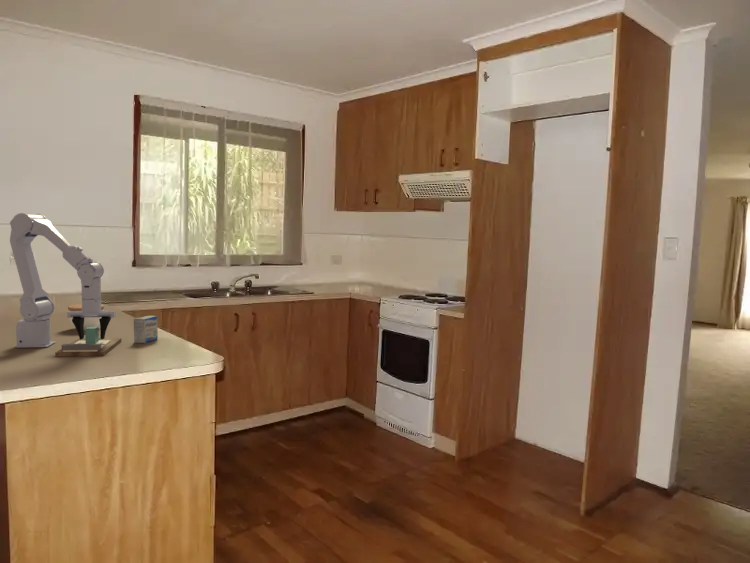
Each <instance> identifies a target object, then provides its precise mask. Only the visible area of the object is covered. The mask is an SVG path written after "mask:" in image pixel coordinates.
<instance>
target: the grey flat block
mask: <svg viewBox="0 0 750 563" xmlns="http://www.w3.org/2000/svg"><path fill="white" fill-rule="evenodd" d="M104 346H105V344H71V343H63V344H62V345H61V349H62V350H63V352H95V351H99V350H100V349H101V348H103V347H104Z"/></svg>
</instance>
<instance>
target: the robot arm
mask: <svg viewBox="0 0 750 563" xmlns="http://www.w3.org/2000/svg"><path fill="white" fill-rule="evenodd" d="M9 224H10V236H9V243H10V247H11V251H12V254H13V258H14V262H15V265H16V269H17V273H18V277H19V280H20V281H19V282H20V283H21V288H22V291H23V294H22V295H21V296H20V298H19V302H20V303H19V304H20V306H19V313H20V315H21V317H22V318H23V319H19V320H18V321H17V323H16V328H15V331H16V332H15V333H16V336H15V337H16V346H15V348H19V349H20V348H48V347H50V346H51V345H54V344H55V343H56V341H54V340H52V336H51V333H52V332H51V317H52V316H51V315H52V314H53V312H54V311H55V303H54V302H53V300H52V299H51V298H50V296H49V295H50V294H49V293H48V292H47V291H46V290H44V289H43V287H42V283H41V278H40V275H39V271H38V268H37V264H36V260H35V257H34V253H33V248H32V245H31V243H32V242H33V241H34V239H35V238H37V236H42V237H44V238H45V239H47V240H48V241H49V243H52V244H53V245H54V246H55V247H56V248H57V249H58V250H60V251H61V252H62V258H63V259H64V260H65V262H67V263H69V265H70V266H72V268H73V269H75V270H76V273H77V274H76V275H77V277H78V278H79V279H80V283H81V304H82V311H69V310H68V311H67V312H66V313H67V314H66V318H67V319H69V318H71V317H73V319H72V322H73V324H74V325H75V327H76V328H75V327H74V328H75V329H76V331H77V334H78V337H79V338H78V339H85V330H84V317H102V318H100V319H99V321H100V325H99V328H100V329H99V330H100V331H99V337H100V338H99V339H104V338H105V336H106V332H107V329H108V326H109V324H110V322H111V320H112V319H113V318H116V316H117V314H116V311H115V310H104V311H101V304H102V289H101V288H102V284H101V283H102V282H101V280H102V279H101V278H102V277H103V276H104V273H105V270H104V269H105V268H104V267H103V265H102V264H101V262H99V261H94V258H92V257H89V256H88V255H87V254H86V253H85V252H84V251H83V250H84V248H83V247H82V246H78V245H72V244H71V243H69V241H68V240H67V239H66V238H65V237H64V236H63V234H61V233H60V232H59V231H58V230H57V228H55V226H53V225H54V224H52V221H50V220H49V219H48V218H47V217H46V216H45V215H44V214H41V213H23V212H20V213H17V214H15V215H14V216H13V218H12V219H11V220H10V222H9ZM85 315H97V316H85Z"/></svg>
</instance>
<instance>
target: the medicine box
mask: <svg viewBox="0 0 750 563" xmlns="http://www.w3.org/2000/svg"><path fill="white" fill-rule="evenodd" d="M158 338H159V337H158V316H156V315H145V316H141V317H136V318H133V342H134V343H136V344H147V342H148V343H150V341H151V342H153V340H154V341H157V340H158Z"/></svg>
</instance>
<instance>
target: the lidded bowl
mask: <svg viewBox="0 0 750 563" xmlns="http://www.w3.org/2000/svg"><path fill="white" fill-rule="evenodd" d="M67 310H68V312H69V311H82V303H79V304H78V303H77V304H70V305H69V306H67ZM101 311H105V305H104V304H102V303H101ZM85 316H97V315H85ZM100 318H102V317H84V331H85V329H86V328H87V327H100V321H99V319H100ZM68 319H69V322H70V324H71V326H72V327H74V328H75V329H76V327H75V325H74V324H73V322H72V319H73V317H71V318H68Z"/></svg>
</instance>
